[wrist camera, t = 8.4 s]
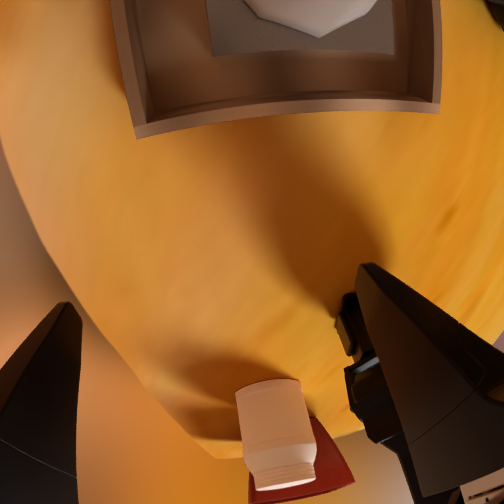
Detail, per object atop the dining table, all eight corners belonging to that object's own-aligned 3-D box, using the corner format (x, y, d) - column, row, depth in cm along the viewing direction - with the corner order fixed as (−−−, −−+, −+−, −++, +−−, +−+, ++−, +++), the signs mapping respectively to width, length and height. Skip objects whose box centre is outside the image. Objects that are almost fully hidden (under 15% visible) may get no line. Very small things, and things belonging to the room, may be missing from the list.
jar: (232, 384, 38) (246, 487, 27) (301, 373, 39) (327, 472, 27) (241, 412, 45) (253, 493, 34) (297, 402, 46) (316, 481, 34)
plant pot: (238, 422, 49) (250, 504, 36) (335, 406, 51) (357, 482, 38) (239, 445, 61) (248, 507, 48) (315, 433, 63) (330, 492, 50)
